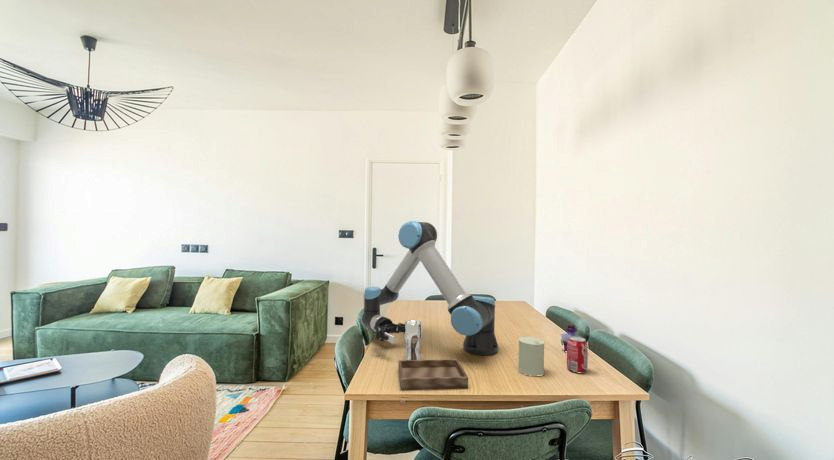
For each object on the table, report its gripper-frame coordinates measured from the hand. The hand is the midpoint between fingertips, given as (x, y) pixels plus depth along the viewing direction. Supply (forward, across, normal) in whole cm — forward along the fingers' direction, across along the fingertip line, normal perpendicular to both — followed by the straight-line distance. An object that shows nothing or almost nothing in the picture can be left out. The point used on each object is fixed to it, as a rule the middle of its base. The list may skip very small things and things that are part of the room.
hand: (408, 337), depth 134 cm
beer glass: (+3, 0, -9) cm, 9 cm away
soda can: (+44, -47, -9) cm, 65 cm away
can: (+35, -31, -9) cm, 48 cm away
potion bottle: (+32, -64, -9) cm, 72 cm away
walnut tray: (+20, +4, -8) cm, 22 cm away
